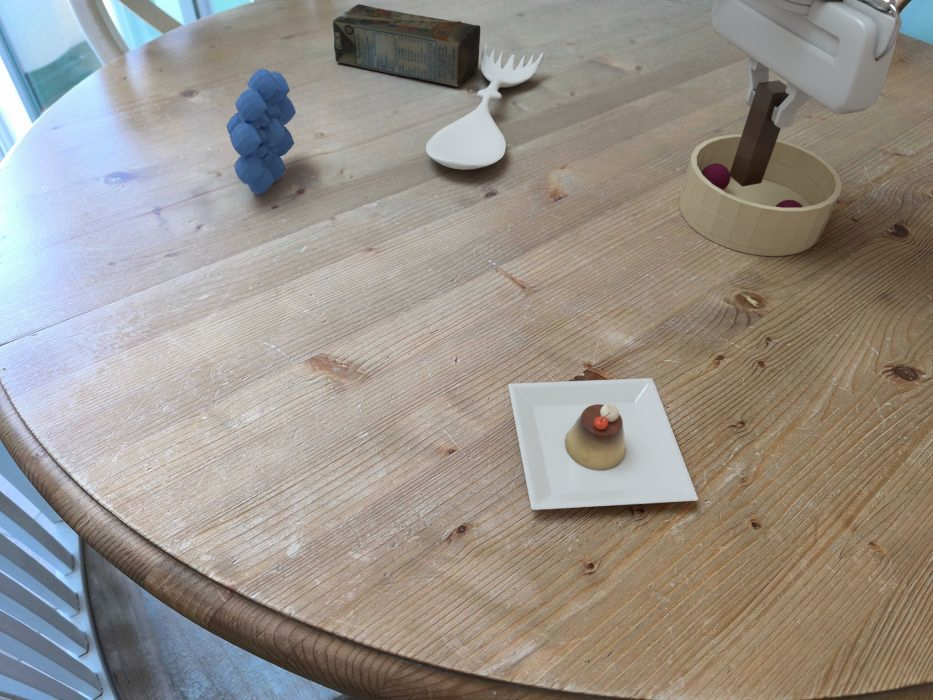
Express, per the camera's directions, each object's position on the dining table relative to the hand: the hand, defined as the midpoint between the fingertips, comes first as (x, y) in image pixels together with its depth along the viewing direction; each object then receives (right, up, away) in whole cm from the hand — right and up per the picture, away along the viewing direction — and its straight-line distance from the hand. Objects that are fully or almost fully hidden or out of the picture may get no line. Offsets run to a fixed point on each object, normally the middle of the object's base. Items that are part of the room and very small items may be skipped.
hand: (766, 114), depth 73 cm
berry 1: (-2, -4, +9) cm, 10 cm away
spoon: (-27, +6, +22) cm, 35 cm away
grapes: (-52, -4, +10) cm, 53 cm away
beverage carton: (-38, +17, +33) cm, 53 cm away
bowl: (+2, -8, +9) cm, 12 cm away
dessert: (-19, -30, -15) cm, 39 cm away
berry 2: (+4, -9, +5) cm, 11 cm away
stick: (0, -5, +5) cm, 7 cm away
